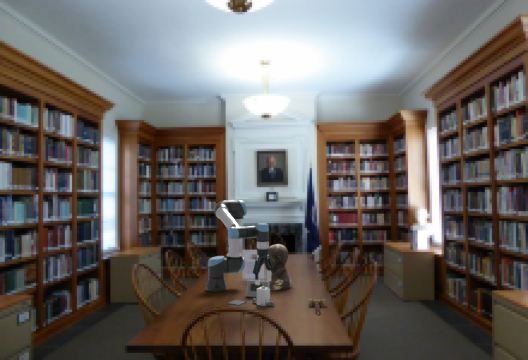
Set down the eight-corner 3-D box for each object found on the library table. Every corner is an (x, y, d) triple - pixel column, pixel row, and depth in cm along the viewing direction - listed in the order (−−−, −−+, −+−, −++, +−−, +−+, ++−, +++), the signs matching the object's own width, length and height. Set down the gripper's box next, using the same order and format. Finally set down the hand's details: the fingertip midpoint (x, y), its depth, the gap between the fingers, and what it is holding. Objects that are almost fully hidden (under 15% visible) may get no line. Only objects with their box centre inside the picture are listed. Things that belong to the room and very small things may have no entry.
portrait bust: (292, 280, 310) (291, 241, 311) (290, 290, 275) (289, 247, 276) (266, 279, 312) (266, 241, 314) (261, 290, 278) (260, 246, 279)
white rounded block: (252, 304, 241) (252, 286, 241) (257, 302, 246) (257, 284, 247) (269, 307, 235) (269, 288, 235) (274, 304, 240) (274, 286, 240)
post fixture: (252, 303, 243) (252, 290, 244) (254, 302, 245) (254, 289, 246) (272, 306, 236) (272, 293, 236) (274, 305, 238) (274, 292, 238)
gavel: (327, 310, 217) (309, 310, 218) (327, 318, 217) (309, 318, 218) (324, 298, 238) (308, 297, 239) (325, 305, 238) (308, 305, 239)
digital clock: (244, 296, 260) (244, 280, 260) (251, 293, 267) (251, 278, 268) (265, 299, 252) (265, 283, 252) (272, 296, 259) (271, 280, 260)
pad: (227, 303, 242) (227, 302, 242) (235, 300, 249) (235, 300, 249) (238, 305, 238) (238, 304, 238) (245, 302, 245) (245, 301, 245)
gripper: (257, 251, 229) (257, 287, 228) (278, 246, 250) (278, 279, 249) (246, 250, 233) (247, 286, 232) (268, 245, 254) (268, 278, 253)
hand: (263, 282), depth 241 cm, fingers open, 13 cm apart
